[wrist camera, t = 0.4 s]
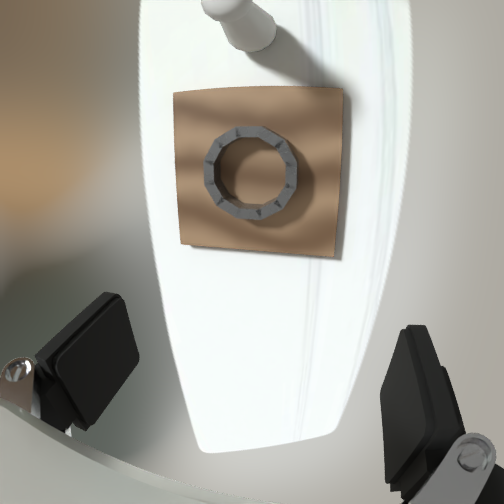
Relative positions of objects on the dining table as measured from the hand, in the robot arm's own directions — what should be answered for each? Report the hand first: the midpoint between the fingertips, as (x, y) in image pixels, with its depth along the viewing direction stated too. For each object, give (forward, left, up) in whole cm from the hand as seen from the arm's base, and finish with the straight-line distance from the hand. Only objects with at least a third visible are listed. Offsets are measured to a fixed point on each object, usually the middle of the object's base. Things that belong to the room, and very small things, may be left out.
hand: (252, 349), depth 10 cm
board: (+3, -6, -29) cm, 30 cm away
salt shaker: (-10, -17, -30) cm, 35 cm away
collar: (+3, -6, -28) cm, 28 cm away
